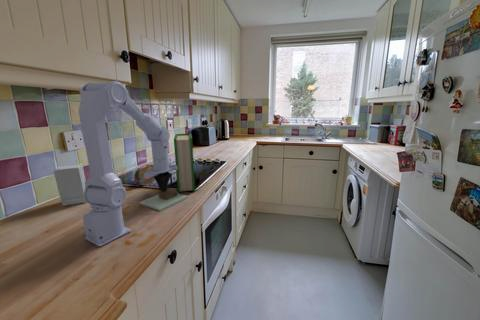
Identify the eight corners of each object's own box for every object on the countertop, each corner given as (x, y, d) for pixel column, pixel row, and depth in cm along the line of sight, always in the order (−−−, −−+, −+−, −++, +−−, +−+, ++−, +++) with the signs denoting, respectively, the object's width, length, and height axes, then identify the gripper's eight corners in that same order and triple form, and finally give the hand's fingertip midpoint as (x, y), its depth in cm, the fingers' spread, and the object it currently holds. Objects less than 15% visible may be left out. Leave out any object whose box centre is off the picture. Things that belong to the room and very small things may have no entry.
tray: (160, 210, 83) (160, 208, 83) (139, 203, 89) (139, 201, 89) (187, 197, 95) (187, 195, 95) (167, 192, 101) (167, 190, 101)
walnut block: (165, 194, 90) (176, 189, 95) (158, 192, 92) (170, 187, 97) (165, 200, 90) (177, 195, 95) (159, 198, 93) (170, 193, 97)
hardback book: (195, 191, 102) (192, 138, 96) (177, 193, 100) (173, 138, 94) (193, 179, 118) (191, 133, 113) (179, 181, 117) (175, 134, 111)
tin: (140, 188, 107) (138, 170, 105) (134, 187, 108) (132, 170, 106) (157, 178, 121) (156, 163, 120) (152, 178, 122) (150, 162, 120)
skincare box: (89, 197, 96) (83, 163, 93) (85, 203, 90) (79, 167, 87) (65, 200, 93) (59, 165, 90) (60, 206, 88) (52, 169, 84)
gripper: (168, 153, 96) (170, 184, 99) (137, 160, 84) (141, 195, 87) (180, 155, 92) (182, 186, 96) (149, 162, 80) (153, 198, 84)
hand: (163, 191), depth 91 cm, fingers closed
